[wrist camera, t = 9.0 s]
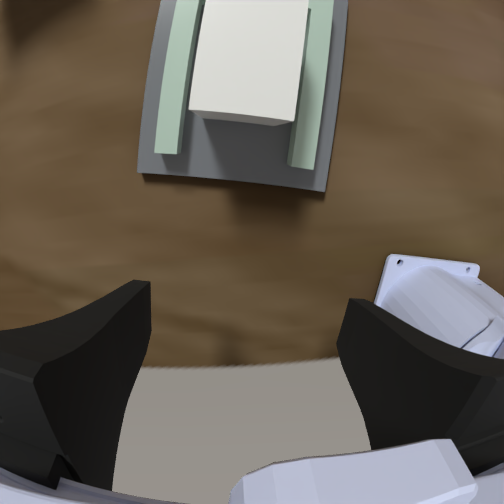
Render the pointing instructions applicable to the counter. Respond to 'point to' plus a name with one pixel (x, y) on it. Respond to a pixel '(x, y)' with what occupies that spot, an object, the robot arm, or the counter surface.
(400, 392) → the robot arm
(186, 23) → the frame
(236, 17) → the block
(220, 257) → the counter surface
